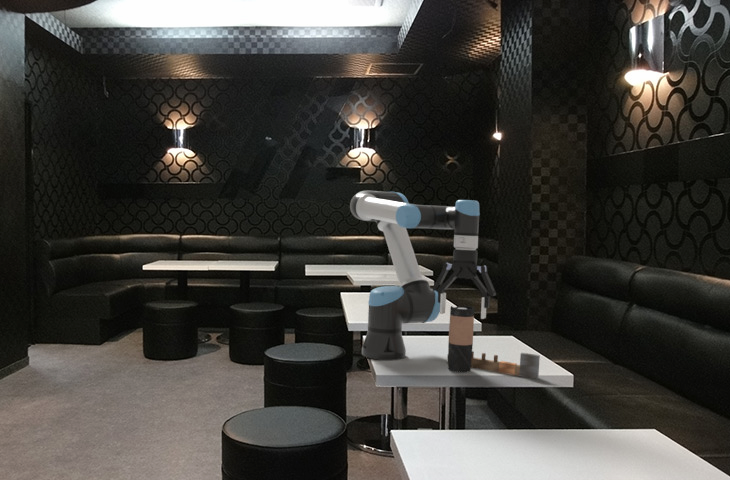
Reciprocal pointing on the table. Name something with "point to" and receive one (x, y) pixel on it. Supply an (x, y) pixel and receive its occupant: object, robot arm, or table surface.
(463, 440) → the table surface
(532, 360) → the comb rail
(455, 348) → the travel mug
